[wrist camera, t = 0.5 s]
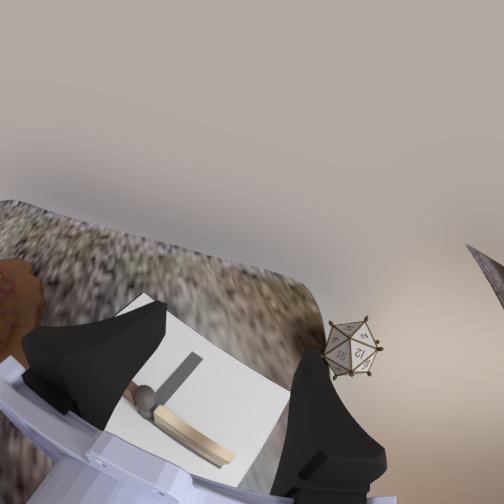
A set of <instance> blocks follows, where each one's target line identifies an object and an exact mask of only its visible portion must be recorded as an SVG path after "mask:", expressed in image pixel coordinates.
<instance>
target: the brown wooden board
mask: <svg viewBox="0 0 504 504" xmlns="http://www.w3.org/2000/svg"><path fill="white" fill-rule="evenodd" d="M137 387H138V385H137V384H136V383H134V382H133V381H131V382H130V384H129V385H128V387H127V389H126V390H125V392H124V393H123V395H122V396H123V397H124V398H126V399H127V400H128V401H129V402H130V403H131V404H132V405H134V406H136V405H137V403H136V399H135V395H134V392H135V389H136V388H137Z"/></svg>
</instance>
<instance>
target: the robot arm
mask: <svg viewBox="0 0 504 504" xmlns="http://www.w3.org/2000/svg"><path fill="white" fill-rule="evenodd" d="M166 315H167V304H166V303H163V302H160V301H158V300H156V301H153V302H151V303H148V304H146V305H143V306H141V307H139V308H136V309H134V310H131V311H129V312H126V313H124V314H121V315H118V316H115V317H112V318H109V319H106V320H102V321H98V322H94V323H89V324H83V325H76V326H63V327H50V326H37V327H35V328H34V329H33V330H31V331H30V332H29V333H27V334H26V335H25V336H23V337H22V339H21V346H22V349H23V352H24V354H25V357H26V359H27V362H28V364H29V367H30V368H29V369H27V370H26V369H25V368H24V367H23V366H22V365H21V364H20V363H19V362H18V361H17V360H16V359H15V358H14V357H13V356H11V355H10V356H9V357H8V358H6V359H5V360H4V361H3V362H2V363H0V409H1V411H2V412H3V413H4V414H5V415H6V416H7V417H8V418H9V419H10V420H11V421H12V422H13V423H14V424H15V425H16V426H17V427H18V428H19V429H20V430H21V431H22V432H23V433H24V434H25V435H26V436H27V437H28V438H29V439H30V440H31V441H32V442H33V443H34V444H35V445H36V446H37V447H38V448H39V449H40V450H41V451H43V452H44V453H45V454H46V455H47V456H48V457H49V458H51V459H52V460H53V461H54V462H55V463H56V465H55V466H54V467H53V469H52V470H51V471H50V473H49V474H48V475H47V476H46V478H45V479H44V480H43V482H42V483H41V484H40V486H39V487H38V488H37V490H36V491H35V492H34V494H33V495H32V496H31V498H30V499H29V500H28V502H27V503H26V504H396V496H380V497H371V498H367V499H366V493H368V492H369V490H370V484H371V483H372V482H373V481H375V480H376V479H378V478H379V477H380V476H381V475H382V474H383V473H384V472H385V471H386V469H387V460H386V454H385V449H384V448H383V447H382V446H381V445H380V444H379V443H377V442H376V441H375V440H374V439H372V438H371V437H370V436H369V435H368V434H367V433H366V432H365V431H364V430H363V429H362V428H361V427H360V426H359V424H358V423H357V422H356V421H355V419H354V418H353V417H352V416H351V414H350V413H349V412H348V410H347V409H346V408H345V406H344V404H343V403H342V401H341V399H340V398H339V396H338V394H337V392H336V390H335V388H334V386H333V384H332V382H331V380H330V377H329V375H328V373H327V370H326V368H325V365H324V363H323V360H322V357H321V354H320V351H319V350H318V349H314V348H310V347H306V349H305V351H304V354H303V356H302V358H301V361H300V363H299V365H298V367H297V370H296V372H295V374H294V378H293V382H292V387H291V392H290V403H289V414H288V424H287V432H286V438H285V442H284V446H283V451H282V454H281V458H280V462H279V466H278V469H277V473H276V476H275V479H274V483H273V486H272V489H271V492H270V495H268V494H263V493H258V492H253V491H249V490H245V489H240V488H237V487H233V486H229V485H225V484H222V483H219V482H215V481H212V480H209V479H206V478H203V477H200V476H197V475H194V474H191V473H188V472H187V471H186V470H184V469H183V468H181V467H180V466H178V465H176V464H174V463H172V462H170V461H168V460H166V459H163V458H161V457H159V456H156V455H154V454H152V453H150V452H148V451H146V450H143V449H141V448H139V447H137V446H135V445H133V444H131V443H129V442H127V441H126V440H124V439H122V438H120V437H118V436H116V435H114V434H112V433H110V432H108V431H104V430H105V428H106V426H107V423H108V421H109V419H110V417H111V415H112V413H113V411H114V409H115V408H116V406H117V404H118V402H119V400H120V399H121V397H122V395H123V393H124V392H125V390H126V389H127V387H128V385H129V384H130V382H131V381H132V379H133V378H134V377H135V375H136V374H137V373H138V372H139V371H140V369H141V368H142V367H143V366H144V364H145V363H146V362H147V361H148V360H149V358H150V357H151V356H152V355H153V353H154V352H155V351H156V350H157V348H158V347H159V345H160V343H161V342H162V340H163V338H164V337H165V335H166Z"/></svg>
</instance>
